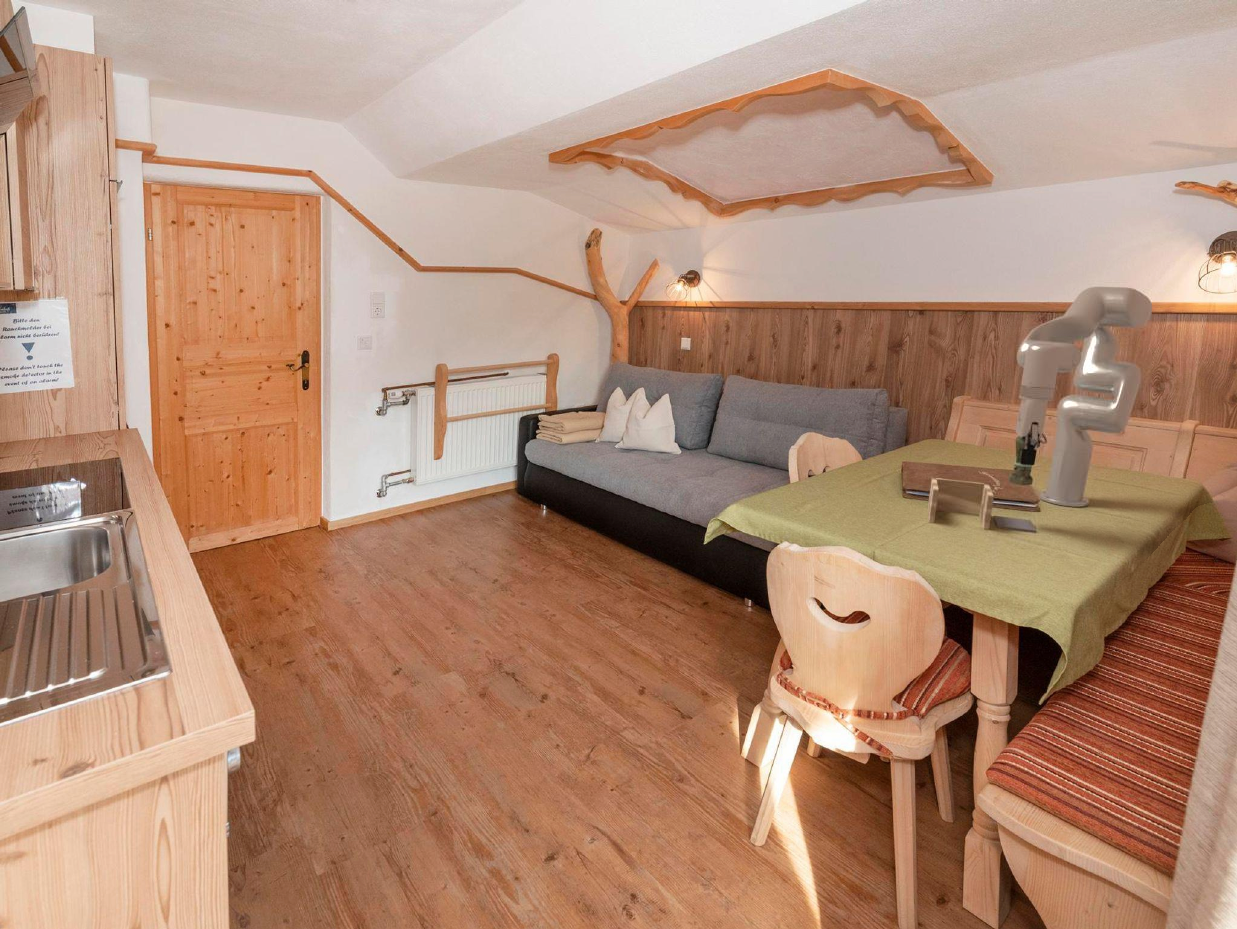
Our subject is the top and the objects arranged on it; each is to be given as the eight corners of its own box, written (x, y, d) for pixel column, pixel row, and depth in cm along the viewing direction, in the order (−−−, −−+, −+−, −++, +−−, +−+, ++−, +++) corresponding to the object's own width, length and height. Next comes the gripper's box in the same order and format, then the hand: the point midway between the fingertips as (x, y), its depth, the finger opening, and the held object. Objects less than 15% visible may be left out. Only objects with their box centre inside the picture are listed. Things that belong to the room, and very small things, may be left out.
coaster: (993, 517, 200) (993, 515, 200) (1030, 522, 197) (1030, 520, 197) (997, 527, 192) (997, 525, 192) (1035, 532, 189) (1036, 530, 189)
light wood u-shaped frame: (927, 508, 207) (931, 477, 205) (983, 514, 202) (988, 483, 200) (929, 522, 195) (933, 489, 193) (988, 529, 190) (994, 496, 188)
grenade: (1000, 481, 192) (1011, 426, 188) (1013, 477, 196) (1023, 423, 192) (1029, 489, 187) (1040, 432, 182) (1041, 484, 190) (1053, 429, 186)
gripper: (1015, 387, 195) (1004, 452, 199) (1025, 396, 179) (1013, 467, 183) (1047, 389, 192) (1035, 455, 197) (1060, 399, 176) (1047, 470, 181)
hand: (1024, 460), depth 190 cm, fingers closed on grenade, 6 cm apart
